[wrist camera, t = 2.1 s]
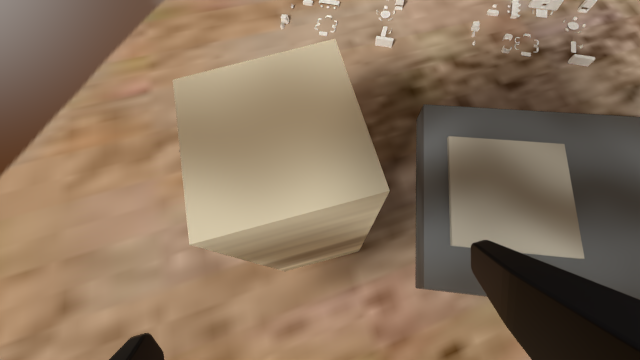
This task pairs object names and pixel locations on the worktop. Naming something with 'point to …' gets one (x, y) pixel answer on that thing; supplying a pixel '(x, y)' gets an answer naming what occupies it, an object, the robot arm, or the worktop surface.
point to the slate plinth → (527, 193)
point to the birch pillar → (278, 159)
